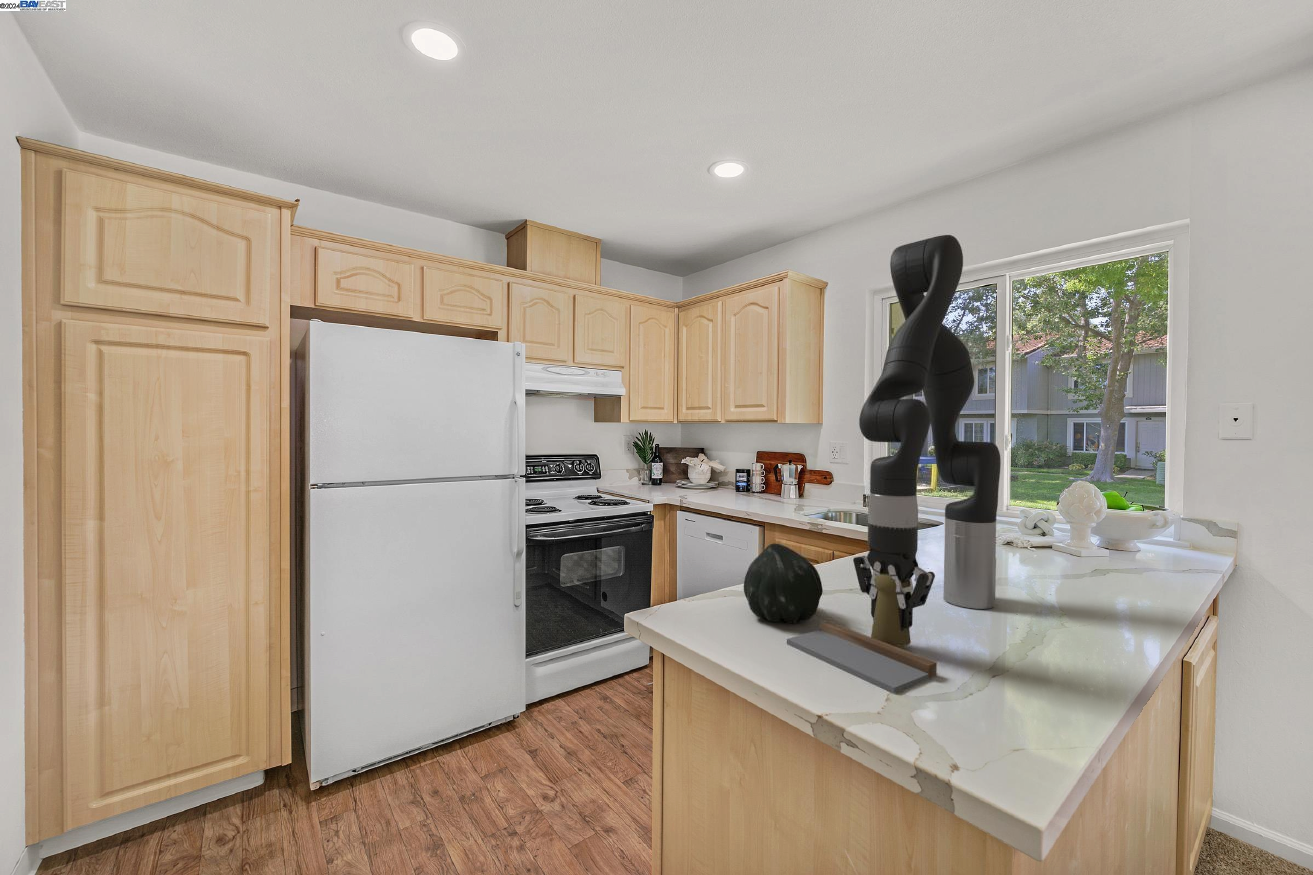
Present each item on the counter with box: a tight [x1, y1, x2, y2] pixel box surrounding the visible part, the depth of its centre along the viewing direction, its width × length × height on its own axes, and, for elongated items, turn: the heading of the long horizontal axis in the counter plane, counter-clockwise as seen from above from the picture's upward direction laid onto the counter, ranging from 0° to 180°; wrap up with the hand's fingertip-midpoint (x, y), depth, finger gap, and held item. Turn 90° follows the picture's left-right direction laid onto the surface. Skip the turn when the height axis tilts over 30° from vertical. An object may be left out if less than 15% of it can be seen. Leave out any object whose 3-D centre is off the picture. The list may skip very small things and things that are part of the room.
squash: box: [743, 542, 824, 624], centre depth 105 cm, size 14×15×15 cm
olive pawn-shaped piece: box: [870, 573, 912, 647], centre depth 91 cm, size 6×6×11 cm
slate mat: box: [786, 629, 929, 694], centre depth 86 cm, size 8×20×1 cm, turn 32°
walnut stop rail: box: [819, 620, 938, 680], centre depth 89 cm, size 2×20×2 cm, turn 32°
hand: (890, 624), depth 91 cm, fingers closed on olive pawn-shaped piece, 4 cm apart
